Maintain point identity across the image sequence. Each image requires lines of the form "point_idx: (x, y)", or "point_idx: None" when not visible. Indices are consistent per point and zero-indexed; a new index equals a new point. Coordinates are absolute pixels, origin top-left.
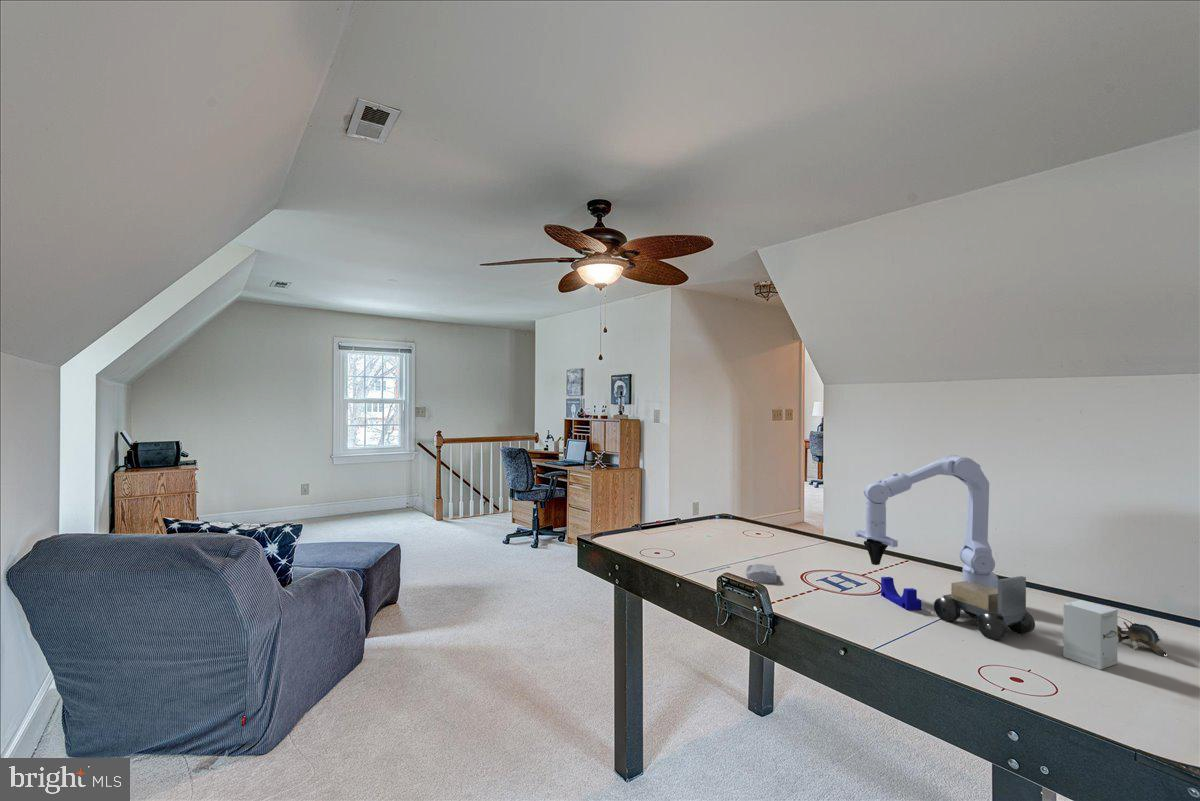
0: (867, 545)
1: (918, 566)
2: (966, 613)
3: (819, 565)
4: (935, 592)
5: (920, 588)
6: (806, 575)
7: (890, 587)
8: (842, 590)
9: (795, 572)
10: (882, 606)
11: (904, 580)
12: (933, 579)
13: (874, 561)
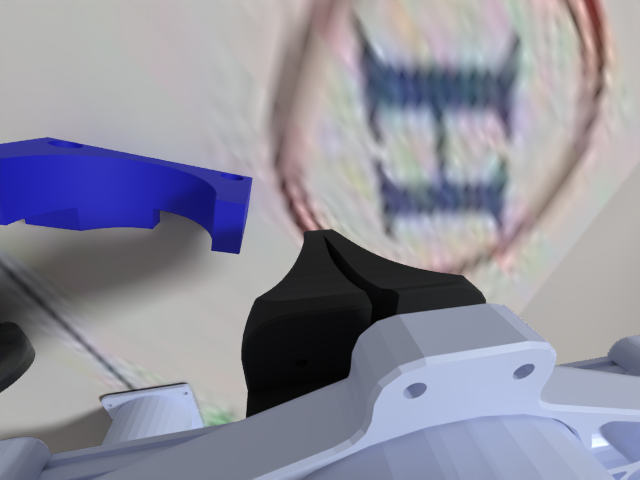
0: (400, 277)
1: None
2: (10, 323)
3: (589, 215)
4: None
5: None
6: (580, 51)
7: (207, 208)
8: (362, 47)
9: (635, 30)
10: (104, 52)
11: None
12: None
13: (306, 238)
